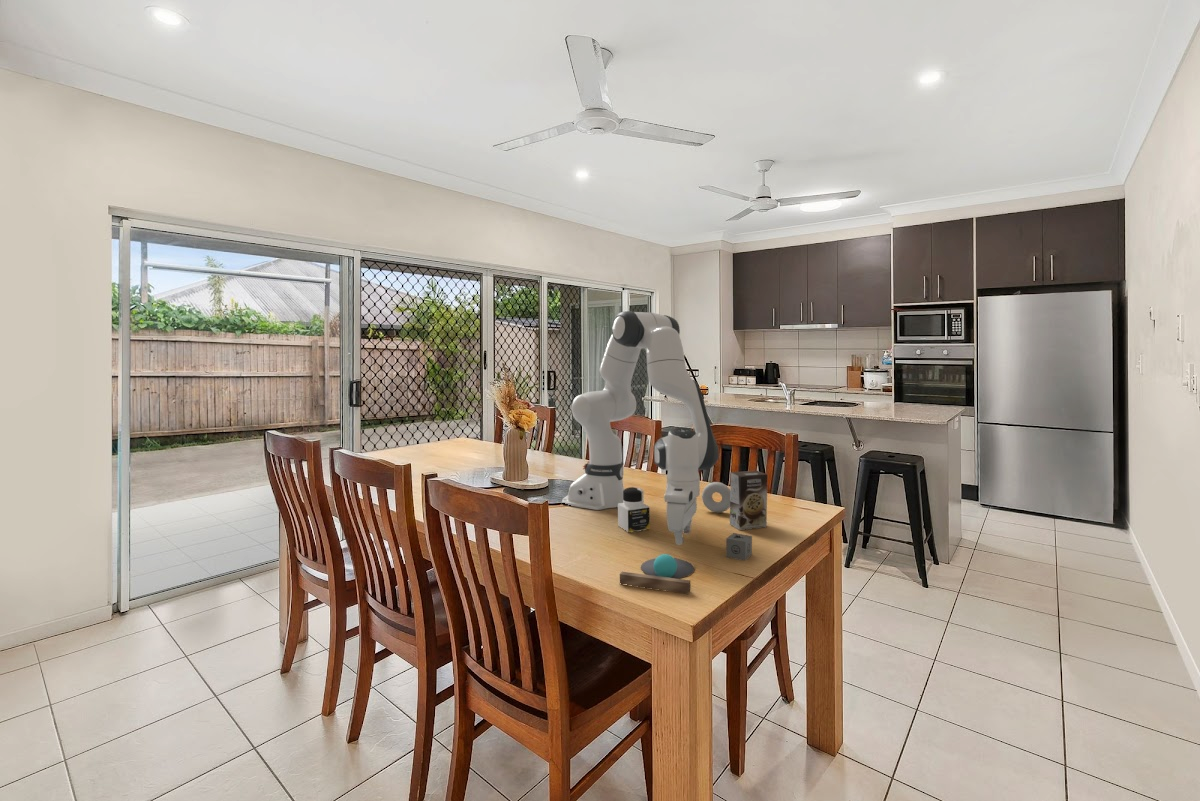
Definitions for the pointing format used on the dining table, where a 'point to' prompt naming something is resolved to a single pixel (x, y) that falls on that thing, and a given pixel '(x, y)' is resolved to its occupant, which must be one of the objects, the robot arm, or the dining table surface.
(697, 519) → the dining table surface
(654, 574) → the disc
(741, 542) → the gray cube
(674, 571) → the ball
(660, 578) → the stopper strip
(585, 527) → the dining table surface
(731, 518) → the cookie box
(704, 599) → the dining table surface
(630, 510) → the medicine bottle
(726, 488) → the donut
